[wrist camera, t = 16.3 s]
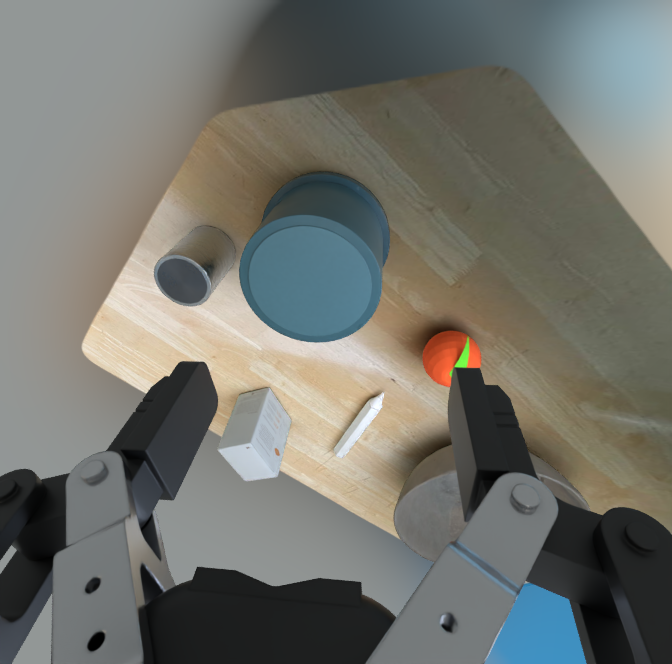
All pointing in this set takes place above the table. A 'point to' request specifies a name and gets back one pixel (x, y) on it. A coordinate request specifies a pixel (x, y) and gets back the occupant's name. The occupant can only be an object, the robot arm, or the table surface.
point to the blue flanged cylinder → (317, 258)
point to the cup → (195, 266)
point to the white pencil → (358, 426)
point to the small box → (256, 435)
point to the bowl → (452, 502)
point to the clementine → (449, 355)
